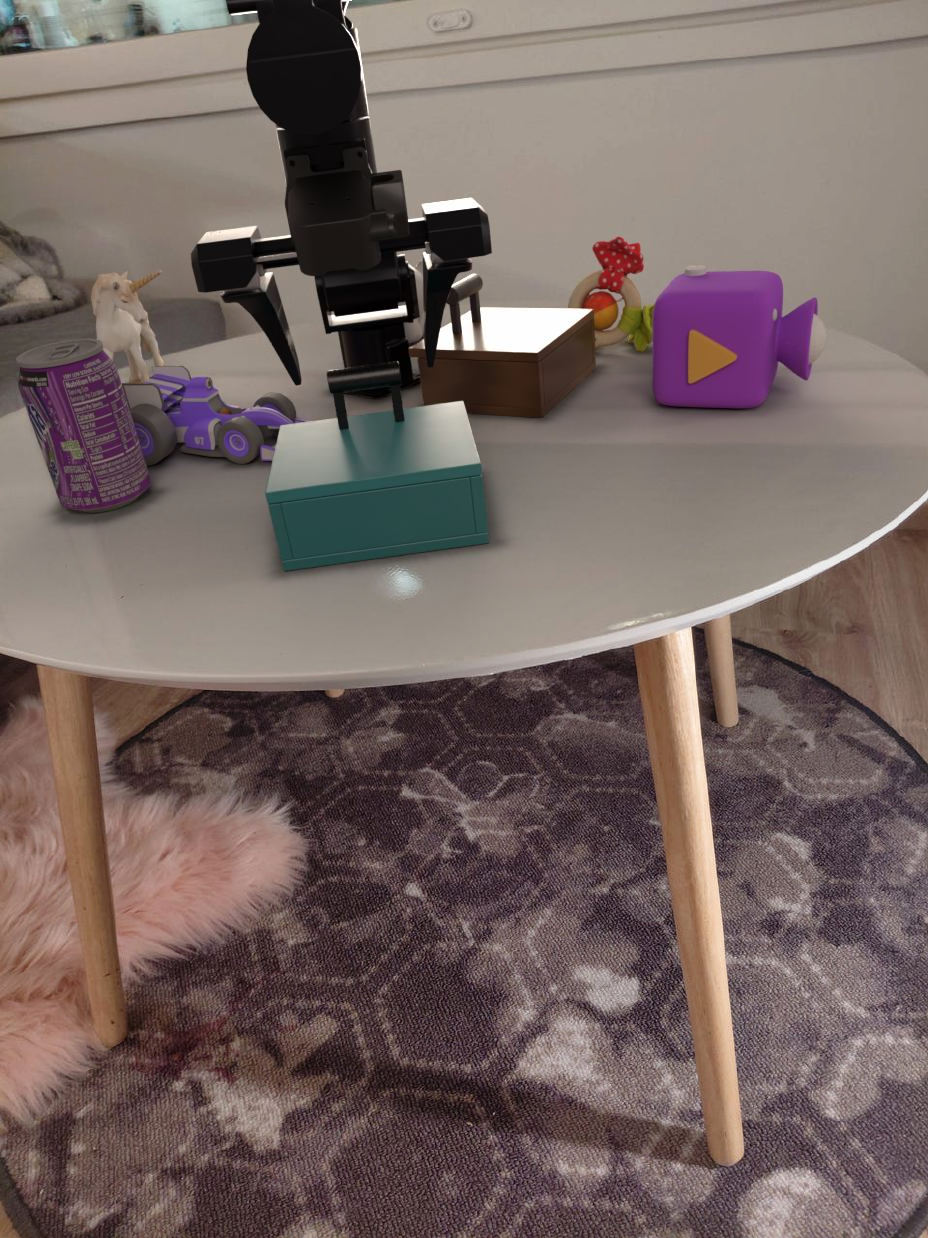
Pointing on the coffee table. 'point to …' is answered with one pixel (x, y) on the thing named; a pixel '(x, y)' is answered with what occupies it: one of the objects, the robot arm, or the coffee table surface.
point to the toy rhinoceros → (417, 328)
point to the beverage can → (83, 425)
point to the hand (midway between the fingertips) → (364, 374)
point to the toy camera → (728, 338)
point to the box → (511, 379)
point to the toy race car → (202, 418)
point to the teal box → (380, 522)
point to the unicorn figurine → (124, 321)
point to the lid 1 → (371, 443)
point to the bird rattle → (616, 266)
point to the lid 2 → (501, 329)
